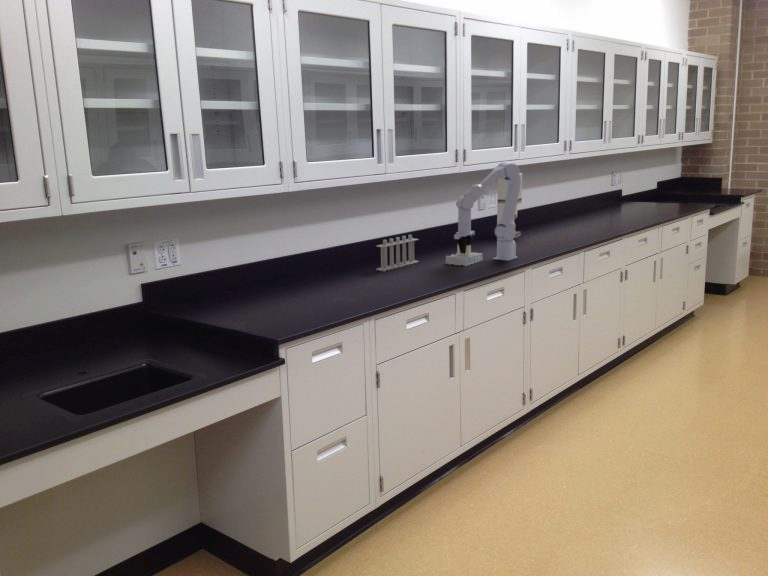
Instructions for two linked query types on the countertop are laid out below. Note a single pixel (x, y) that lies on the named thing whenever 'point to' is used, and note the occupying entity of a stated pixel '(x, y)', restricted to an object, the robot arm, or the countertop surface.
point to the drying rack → (464, 259)
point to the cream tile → (467, 253)
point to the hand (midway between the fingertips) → (464, 252)
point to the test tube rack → (397, 253)
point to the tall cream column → (502, 197)
